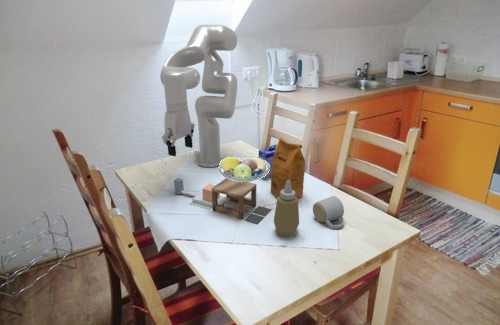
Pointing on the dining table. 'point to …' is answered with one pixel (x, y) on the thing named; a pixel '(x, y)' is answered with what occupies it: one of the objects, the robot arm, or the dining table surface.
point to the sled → (197, 198)
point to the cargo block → (208, 192)
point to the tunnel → (234, 197)
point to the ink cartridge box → (268, 158)
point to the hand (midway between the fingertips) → (180, 151)
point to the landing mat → (200, 205)
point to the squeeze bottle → (286, 211)
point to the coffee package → (287, 168)
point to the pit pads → (257, 218)
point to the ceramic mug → (329, 211)
